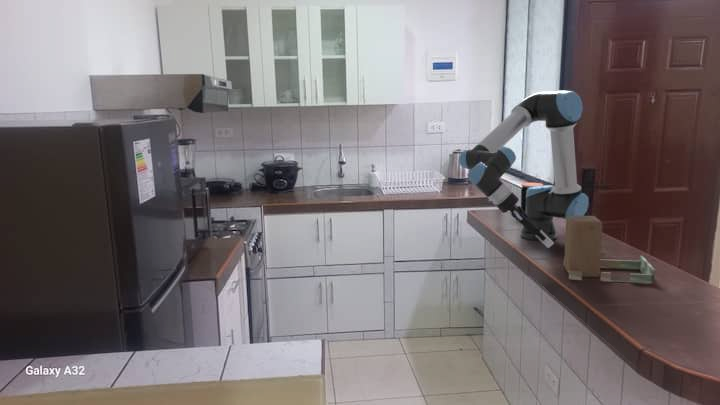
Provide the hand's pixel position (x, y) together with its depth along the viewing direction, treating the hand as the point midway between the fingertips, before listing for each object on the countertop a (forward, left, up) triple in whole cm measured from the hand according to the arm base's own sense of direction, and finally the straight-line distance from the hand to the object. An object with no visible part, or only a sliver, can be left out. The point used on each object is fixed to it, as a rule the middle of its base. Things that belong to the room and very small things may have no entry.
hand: (550, 245), depth 174 cm
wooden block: (-1, +10, -10) cm, 15 cm away
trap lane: (-1, +18, -10) cm, 21 cm away
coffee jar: (-83, -2, -10) cm, 83 cm away
